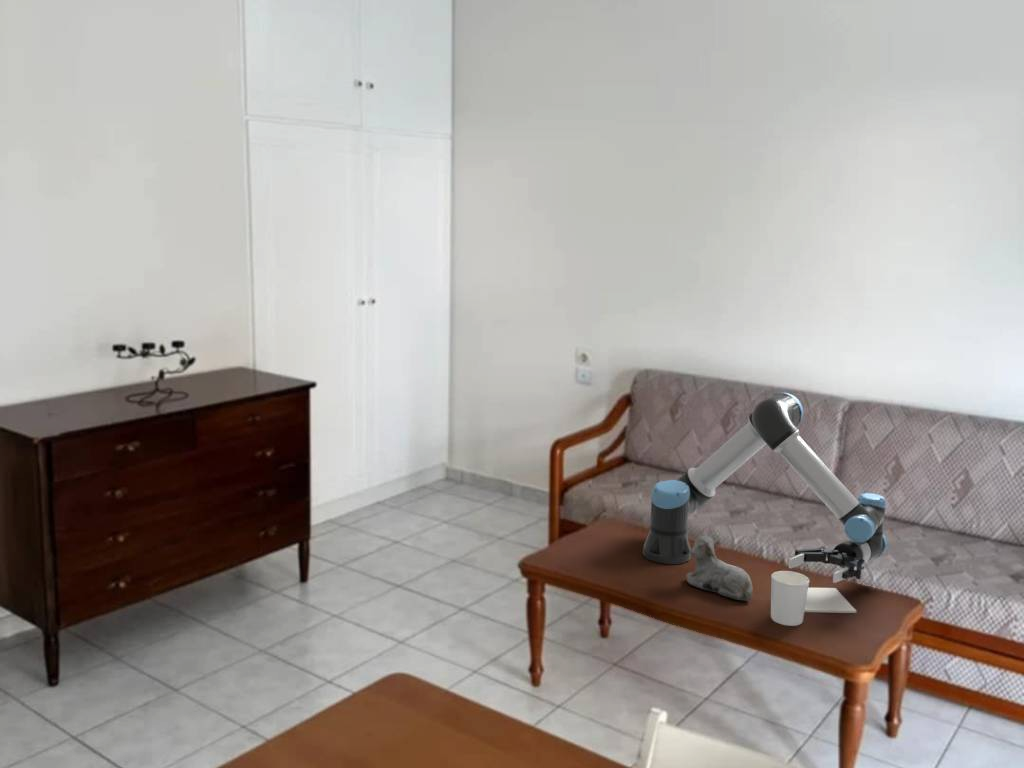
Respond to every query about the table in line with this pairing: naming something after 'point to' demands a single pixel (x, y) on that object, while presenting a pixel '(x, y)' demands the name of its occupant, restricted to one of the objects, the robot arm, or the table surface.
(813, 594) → the tile
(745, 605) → the table surface
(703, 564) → the sculpture
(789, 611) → the candle holder
